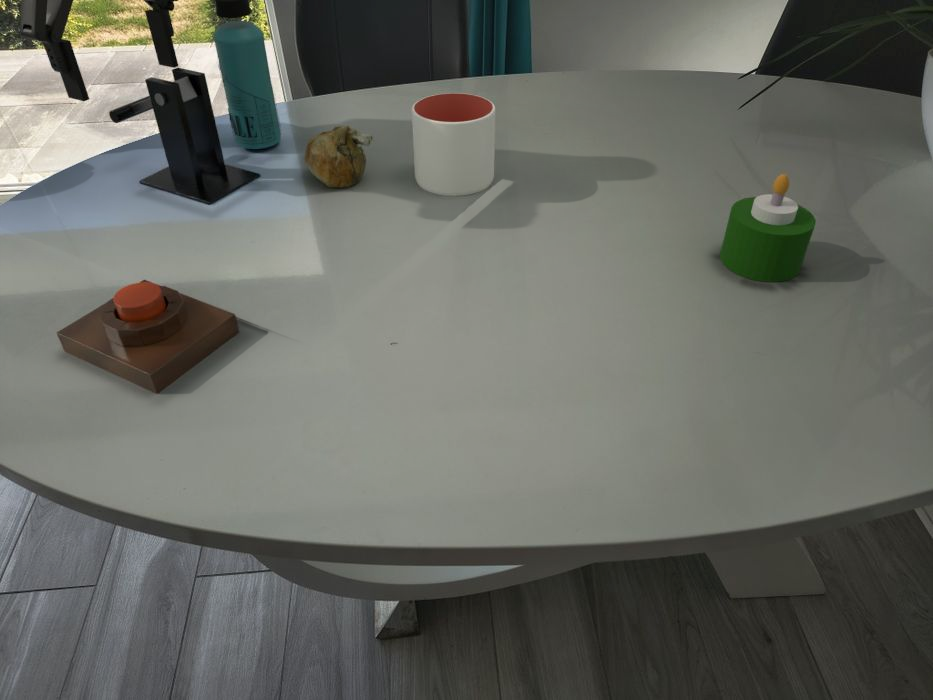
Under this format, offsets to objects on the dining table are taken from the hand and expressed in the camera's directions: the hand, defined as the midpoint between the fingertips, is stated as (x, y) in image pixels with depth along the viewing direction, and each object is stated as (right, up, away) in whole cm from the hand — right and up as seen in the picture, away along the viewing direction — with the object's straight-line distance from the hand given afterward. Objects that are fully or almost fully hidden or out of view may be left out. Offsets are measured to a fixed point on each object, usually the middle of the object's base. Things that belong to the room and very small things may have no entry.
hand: (126, 81), depth 90 cm
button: (+13, -29, -24) cm, 40 cm away
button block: (+13, -32, -22) cm, 41 cm away
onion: (+25, -12, +4) cm, 28 cm away
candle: (+73, -23, -11) cm, 78 cm away
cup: (+40, -12, +4) cm, 42 cm away
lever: (+5, -4, 0) cm, 6 cm away
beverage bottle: (+13, -5, +12) cm, 19 cm away
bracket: (+8, -12, +4) cm, 15 cm away
